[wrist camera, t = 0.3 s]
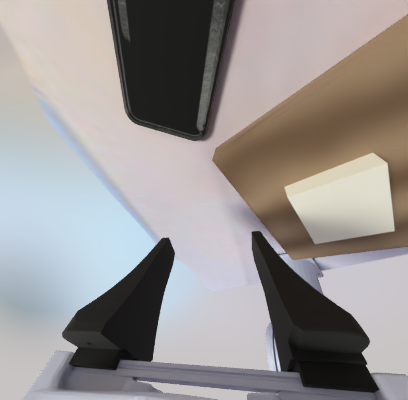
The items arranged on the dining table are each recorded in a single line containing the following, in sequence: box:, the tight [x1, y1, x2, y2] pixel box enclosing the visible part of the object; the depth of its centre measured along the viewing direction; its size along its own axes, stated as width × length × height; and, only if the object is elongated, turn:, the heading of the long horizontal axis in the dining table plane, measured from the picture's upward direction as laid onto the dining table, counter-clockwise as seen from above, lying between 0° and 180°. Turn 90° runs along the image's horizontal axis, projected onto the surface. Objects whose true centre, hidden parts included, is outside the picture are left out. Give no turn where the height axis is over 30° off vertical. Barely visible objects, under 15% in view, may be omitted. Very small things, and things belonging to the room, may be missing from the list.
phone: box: [107, 0, 235, 141], centre depth 9 cm, size 8×1×15 cm
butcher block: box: [212, 15, 408, 260], centre depth 15 cm, size 20×14×2 cm
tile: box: [284, 153, 395, 244], centre depth 13 cm, size 8×6×2 cm
